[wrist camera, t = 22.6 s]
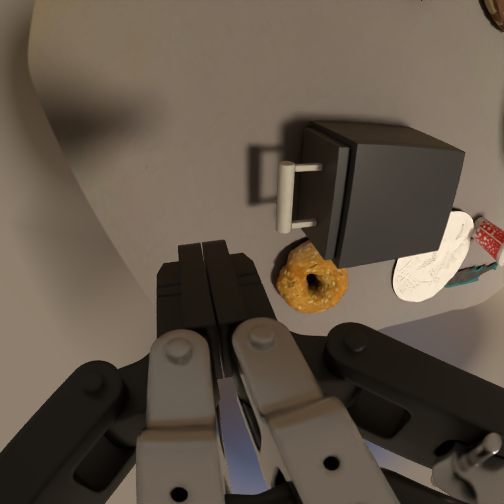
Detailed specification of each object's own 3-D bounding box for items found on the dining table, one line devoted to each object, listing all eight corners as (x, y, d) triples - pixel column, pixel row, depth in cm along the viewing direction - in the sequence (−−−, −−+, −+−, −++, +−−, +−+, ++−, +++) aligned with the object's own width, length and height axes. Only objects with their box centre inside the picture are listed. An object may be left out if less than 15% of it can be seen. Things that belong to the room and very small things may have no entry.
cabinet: (303, 222, 38) (337, 269, 30) (310, 120, 31) (357, 143, 23) (396, 213, 41) (438, 250, 33) (411, 128, 34) (465, 152, 26)
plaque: (455, 184, 41) (461, 188, 39) (477, 246, 51) (482, 249, 50) (374, 271, 46) (378, 277, 45) (413, 312, 57) (417, 317, 55)
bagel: (338, 227, 40) (355, 246, 36) (340, 286, 46) (353, 307, 42) (266, 249, 39) (278, 272, 35) (279, 307, 46) (289, 331, 42)
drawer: (262, 227, 36) (284, 267, 30) (264, 128, 30) (291, 147, 23) (387, 214, 39) (422, 244, 33) (402, 132, 33) (445, 152, 27)
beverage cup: (473, 244, 51) (518, 285, 39) (464, 233, 48) (514, 276, 36) (489, 221, 48) (536, 259, 37) (481, 208, 46) (533, 248, 34)
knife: (489, 276, 60) (497, 259, 57) (492, 278, 59) (500, 262, 56) (430, 290, 54) (439, 270, 52) (433, 293, 54) (442, 273, 51)
